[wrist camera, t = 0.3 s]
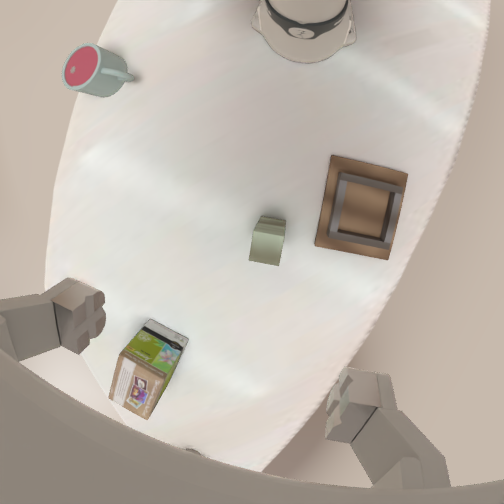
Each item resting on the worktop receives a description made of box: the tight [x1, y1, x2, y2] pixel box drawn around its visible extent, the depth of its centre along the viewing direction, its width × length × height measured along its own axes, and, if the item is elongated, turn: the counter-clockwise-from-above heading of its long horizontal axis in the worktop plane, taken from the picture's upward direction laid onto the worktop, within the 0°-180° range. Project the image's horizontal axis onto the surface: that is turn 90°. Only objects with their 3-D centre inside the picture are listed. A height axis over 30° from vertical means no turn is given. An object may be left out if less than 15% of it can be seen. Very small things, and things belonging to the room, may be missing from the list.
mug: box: [62, 43, 134, 97], centre depth 46 cm, size 14×9×10 cm
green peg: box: [249, 216, 286, 266], centre depth 50 cm, size 4×4×12 cm
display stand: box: [314, 155, 408, 260], centre depth 50 cm, size 16×14×4 cm
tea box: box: [109, 319, 188, 420], centre depth 60 cm, size 15×10×15 cm
